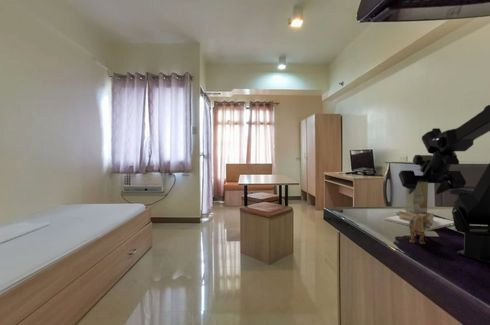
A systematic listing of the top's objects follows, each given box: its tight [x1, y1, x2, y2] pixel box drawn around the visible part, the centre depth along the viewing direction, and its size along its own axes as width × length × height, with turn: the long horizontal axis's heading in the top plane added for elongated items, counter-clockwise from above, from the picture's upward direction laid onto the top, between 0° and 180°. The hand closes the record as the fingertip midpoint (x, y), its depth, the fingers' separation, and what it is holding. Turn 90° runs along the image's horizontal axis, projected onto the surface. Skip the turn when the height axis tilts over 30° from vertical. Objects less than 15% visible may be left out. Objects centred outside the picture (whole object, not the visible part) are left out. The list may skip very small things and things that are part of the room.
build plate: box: [384, 215, 454, 231], centre depth 100 cm, size 18×16×1 cm
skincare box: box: [404, 182, 429, 213], centre depth 100 cm, size 6×4×12 cm
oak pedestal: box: [398, 209, 434, 221], centre depth 101 cm, size 8×8×3 cm
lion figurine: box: [409, 214, 433, 245], centre depth 80 cm, size 15×5×9 cm, turn 153°
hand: (422, 193), depth 95 cm, fingers open, 9 cm apart
